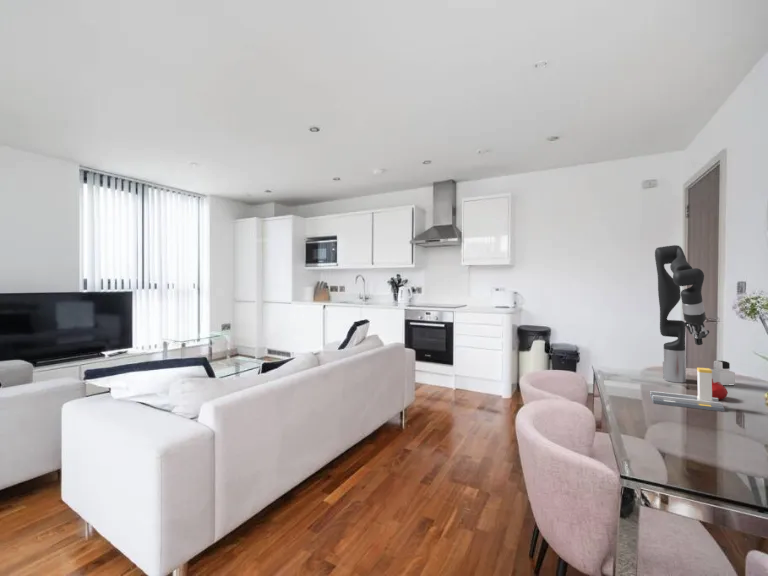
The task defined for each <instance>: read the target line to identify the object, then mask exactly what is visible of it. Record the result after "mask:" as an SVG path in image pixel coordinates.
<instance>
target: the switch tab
mask: <svg viewBox="0 0 768 576" xmlns="http://www.w3.org/2000/svg"><path fill="white" fill-rule="evenodd" d="M711 369H712V368H709V367H696V371H697V373H696V376H697V382H696V383H697V384H696V385H697V395H696V396H697V400H703V401H712V402H713V400H712V370H711Z"/></svg>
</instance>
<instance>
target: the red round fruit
mask: <svg viewBox="0 0 768 576" xmlns="http://www.w3.org/2000/svg"><path fill="white" fill-rule="evenodd" d="M718 383H719V384H718ZM727 396H728V389H727V388H726V386H723V385H721V383H720V382H716V383H713V379H712V398H718V401H719V400H724V399H726V397H727Z"/></svg>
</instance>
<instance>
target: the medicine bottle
mask: <svg viewBox="0 0 768 576" xmlns="http://www.w3.org/2000/svg"><path fill="white" fill-rule="evenodd" d="M730 364H731V363H730V362H728V361H726V360H714V361H713V368H710V369H711V370H712V379H713V383H716V382H720V383H721V385H729V384H735V385H736V374H735V373H736V372H735V371H732V370H731V369H730V368H731V366H730ZM718 384H719V383H718Z"/></svg>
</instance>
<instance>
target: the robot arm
mask: <svg viewBox="0 0 768 576" xmlns="http://www.w3.org/2000/svg"><path fill="white" fill-rule="evenodd" d="M654 257H655V258H654V259H655V266H656V273H657V291H658V292H657V294H658V303H659V304H658V305H659V332H660V335H661V336H662V337H670V338H677V339H675V340H673V341H670V342H669V341H667V342H665V343H664V344H663V361H662V379H664V380H665V381H667V382H670V383H677V384H678V383H680V384H684V383H687V378H686V377H687V372H686V371H687V363H686V333H687V332H686V331H688V333H689V334H690V335H691V336H692V337H693V338H694V343H695V345H697V346H702V345H703V339H705V338H707V336H708V335H709V334H710V330H709V329H706V328H705V321H706V320H707V317H706V309H705V305H704V302H703V297H702V289H703V283H704V281H705V273H704V271H703V270H702V269H701V268H693V267H692V266H691V264H689V262H688V260H687V257H686V255H685V253H684V251H683V248H682V247H681V246H680V245H678V244H677V245H676V244H674V245H666V246H660V247H656V248H655V250H654ZM669 264H670V266H669V267H670V268H669V269H670V270H671V273H672V274H673V275H670V274H669V273H668V271H667V270H666V268H665V267H666V266H665V265H669ZM688 286H689V287H688ZM681 287H687V288H684V289H682V290H681ZM680 300H681V303H682V304H681V308H682V312H683V313H682V315H683V320H676V319H668V317H669V315H670V313H671V312H672V311H673V309H674V308H675V307H676V305H678V303H679V301H680Z"/></svg>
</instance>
